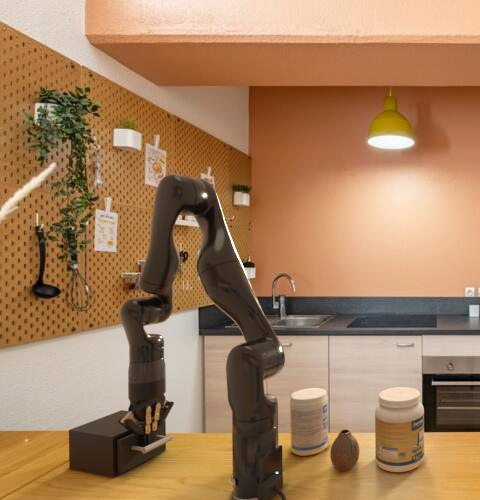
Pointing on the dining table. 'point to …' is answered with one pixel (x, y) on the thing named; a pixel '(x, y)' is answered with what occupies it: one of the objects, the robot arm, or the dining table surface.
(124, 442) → the drawer with bar handle
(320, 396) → the supplement tub
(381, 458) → the supplement tub
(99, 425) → the dark drawer cabinet
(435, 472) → the dining table surface
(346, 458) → the vase
